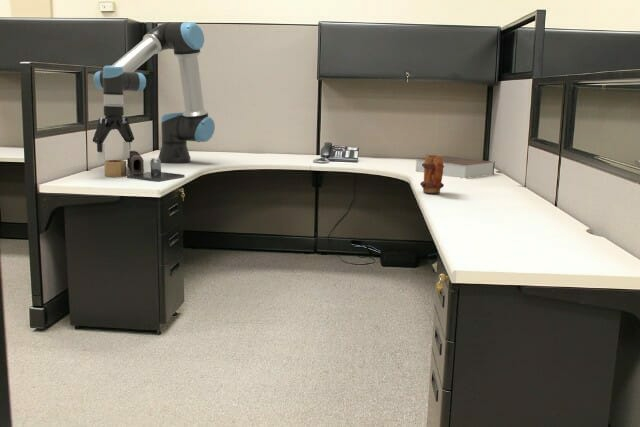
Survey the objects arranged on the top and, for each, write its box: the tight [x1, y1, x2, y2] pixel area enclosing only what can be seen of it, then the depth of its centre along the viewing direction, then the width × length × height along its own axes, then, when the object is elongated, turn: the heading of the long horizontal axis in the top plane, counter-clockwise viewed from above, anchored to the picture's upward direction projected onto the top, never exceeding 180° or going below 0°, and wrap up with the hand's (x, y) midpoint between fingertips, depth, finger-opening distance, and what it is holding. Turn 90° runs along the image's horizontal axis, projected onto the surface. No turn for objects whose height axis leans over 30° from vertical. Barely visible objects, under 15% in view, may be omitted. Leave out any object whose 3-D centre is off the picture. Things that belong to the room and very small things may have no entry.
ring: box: [103, 159, 127, 178], centre depth 263 cm, size 8×8×6 cm
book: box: [415, 155, 496, 179], centre depth 308 cm, size 24×28×6 cm
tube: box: [126, 150, 145, 175], centre depth 279 cm, size 11×7×30 cm
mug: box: [420, 154, 445, 194], centre depth 244 cm, size 15×8×15 cm, turn 5°
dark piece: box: [126, 157, 186, 183], centre depth 262 cm, size 16×16×8 cm
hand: (114, 159), depth 262 cm, fingers open, 13 cm apart
